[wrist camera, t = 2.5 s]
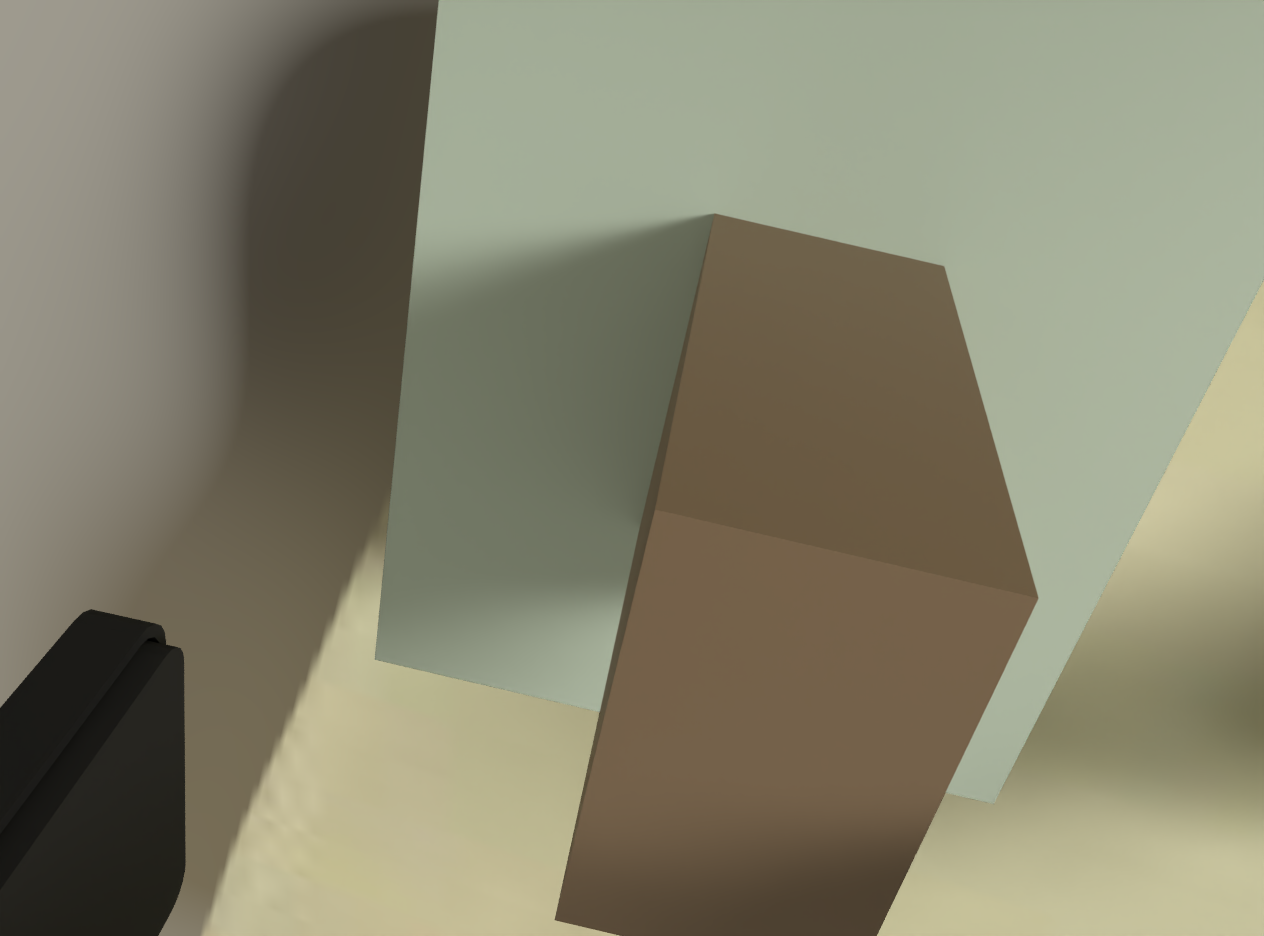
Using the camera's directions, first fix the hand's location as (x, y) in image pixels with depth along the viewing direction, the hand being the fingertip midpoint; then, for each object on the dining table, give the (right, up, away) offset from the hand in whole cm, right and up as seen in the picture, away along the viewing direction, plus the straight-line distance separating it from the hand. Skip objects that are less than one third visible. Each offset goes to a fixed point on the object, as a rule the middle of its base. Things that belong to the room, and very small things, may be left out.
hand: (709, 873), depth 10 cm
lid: (+2, +5, +7) cm, 9 cm away
